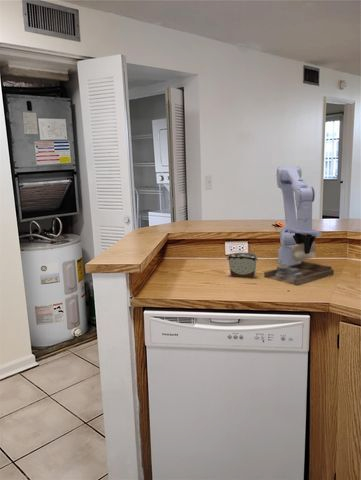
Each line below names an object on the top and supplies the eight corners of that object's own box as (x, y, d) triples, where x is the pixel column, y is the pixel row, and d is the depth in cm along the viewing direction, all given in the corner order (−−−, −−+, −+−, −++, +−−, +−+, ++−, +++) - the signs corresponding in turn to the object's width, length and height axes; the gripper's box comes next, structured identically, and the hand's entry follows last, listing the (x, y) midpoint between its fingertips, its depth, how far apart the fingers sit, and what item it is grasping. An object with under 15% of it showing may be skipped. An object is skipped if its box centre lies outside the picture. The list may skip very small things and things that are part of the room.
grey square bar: (275, 277, 162) (275, 266, 161) (282, 275, 164) (282, 265, 164) (295, 282, 154) (295, 271, 153) (302, 280, 156) (302, 269, 155)
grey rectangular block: (292, 260, 161) (292, 245, 160) (310, 256, 167) (310, 241, 166) (297, 261, 159) (297, 246, 158) (315, 256, 165) (315, 242, 164)
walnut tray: (264, 279, 163) (264, 269, 162) (300, 269, 175) (300, 260, 175) (296, 288, 150) (297, 277, 149) (333, 276, 162) (333, 267, 162)
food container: (261, 277, 166) (261, 253, 165) (257, 281, 161) (257, 256, 159) (232, 275, 172) (231, 251, 170) (227, 279, 166) (226, 254, 164)
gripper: (282, 218, 164) (282, 251, 166) (313, 221, 152) (313, 257, 155) (294, 216, 168) (294, 249, 170) (325, 219, 156) (324, 254, 159)
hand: (304, 252), depth 163 cm, fingers closed on grey rectangular block, 2 cm apart
